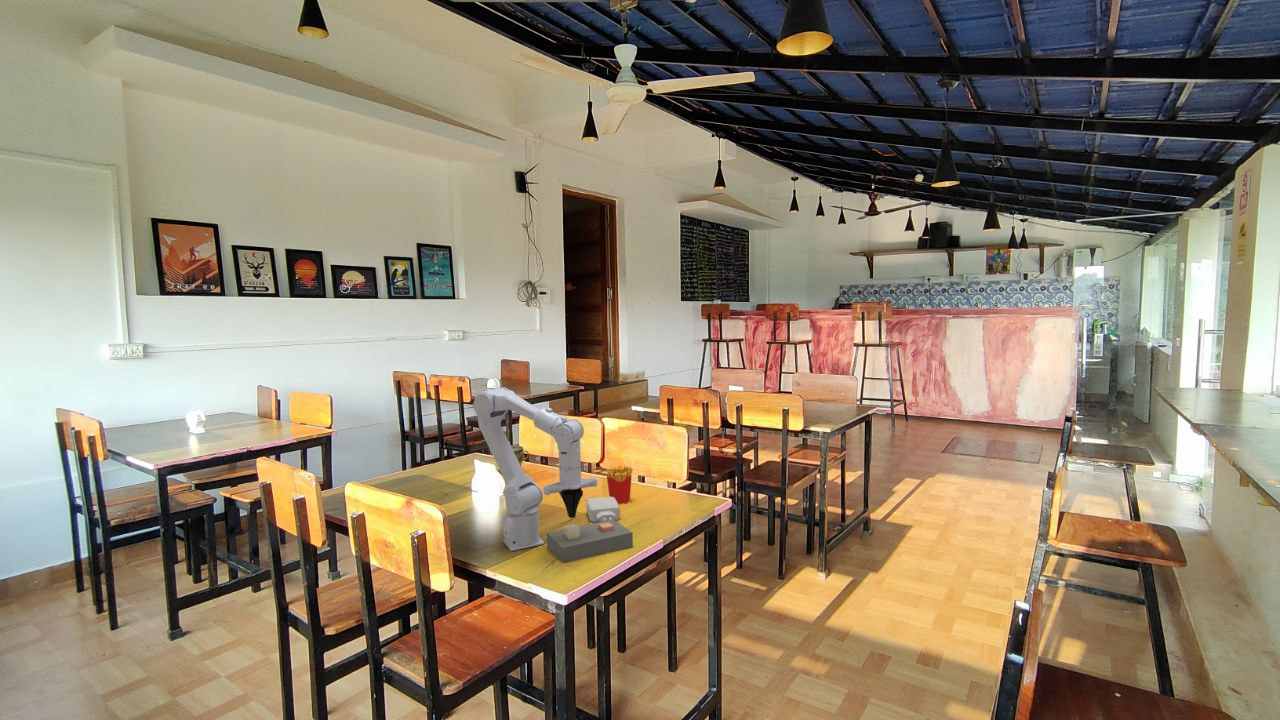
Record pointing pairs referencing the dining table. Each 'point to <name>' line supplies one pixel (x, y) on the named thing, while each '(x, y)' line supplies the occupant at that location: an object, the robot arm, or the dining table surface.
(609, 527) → the terracotta key
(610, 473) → the french fries
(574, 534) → the offwhite key
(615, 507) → the charger
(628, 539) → the key box
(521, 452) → the ceramic cup
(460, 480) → the dining table surface
